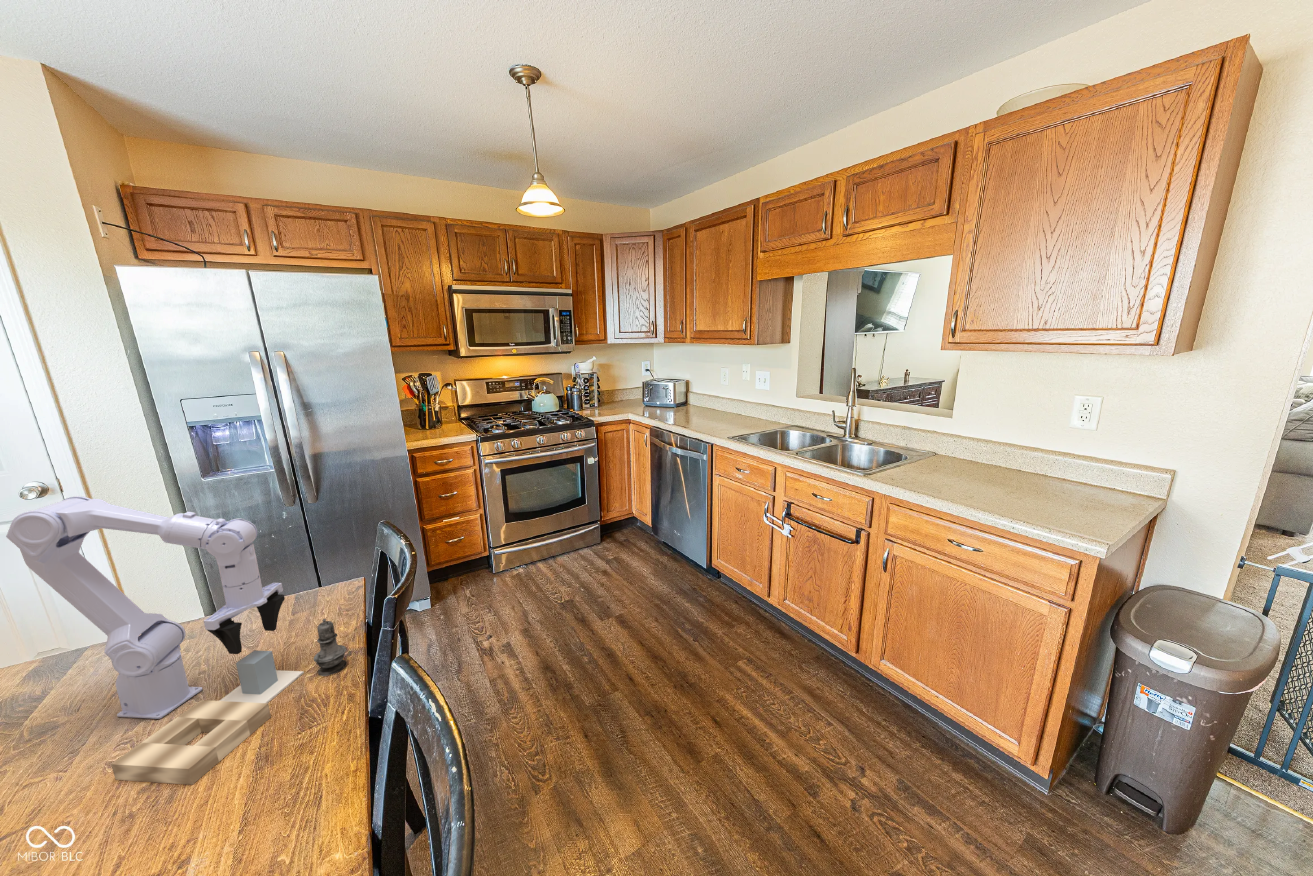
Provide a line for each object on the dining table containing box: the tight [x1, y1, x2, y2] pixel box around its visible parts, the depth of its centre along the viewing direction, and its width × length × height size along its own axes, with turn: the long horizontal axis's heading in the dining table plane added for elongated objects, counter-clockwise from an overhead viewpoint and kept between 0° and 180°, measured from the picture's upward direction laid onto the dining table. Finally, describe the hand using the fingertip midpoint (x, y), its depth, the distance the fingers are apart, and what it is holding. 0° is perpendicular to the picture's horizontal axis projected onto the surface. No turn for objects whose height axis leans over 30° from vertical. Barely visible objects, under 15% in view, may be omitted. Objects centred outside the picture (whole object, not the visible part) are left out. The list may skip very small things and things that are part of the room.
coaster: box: [219, 669, 305, 704], centre depth 96 cm, size 10×10×1 cm
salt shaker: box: [313, 618, 348, 677], centre depth 101 cm, size 6×6×12 cm
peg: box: [235, 649, 278, 694], centre depth 95 cm, size 4×4×7 cm
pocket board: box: [110, 699, 272, 786], centre depth 82 cm, size 14×14×3 cm
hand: (253, 641), depth 95 cm, fingers open, 7 cm apart
